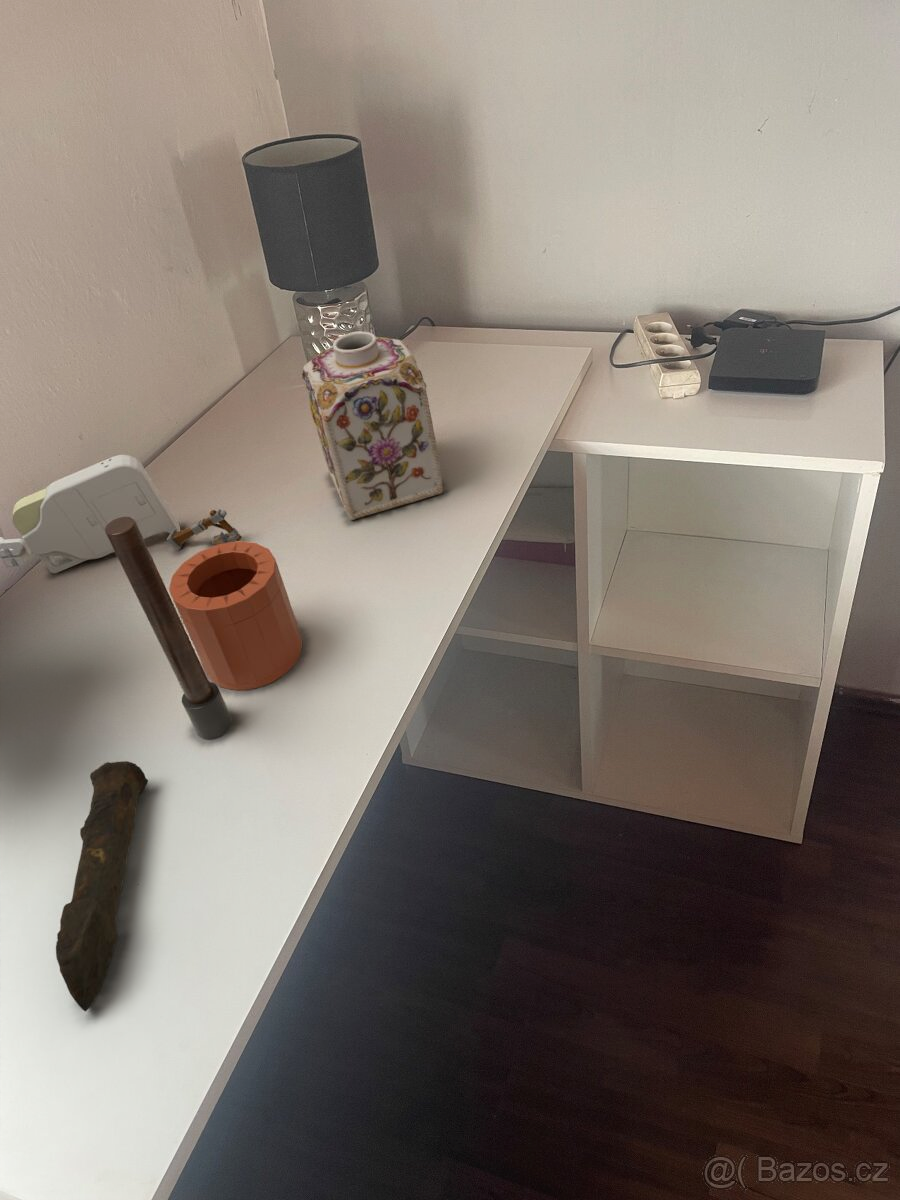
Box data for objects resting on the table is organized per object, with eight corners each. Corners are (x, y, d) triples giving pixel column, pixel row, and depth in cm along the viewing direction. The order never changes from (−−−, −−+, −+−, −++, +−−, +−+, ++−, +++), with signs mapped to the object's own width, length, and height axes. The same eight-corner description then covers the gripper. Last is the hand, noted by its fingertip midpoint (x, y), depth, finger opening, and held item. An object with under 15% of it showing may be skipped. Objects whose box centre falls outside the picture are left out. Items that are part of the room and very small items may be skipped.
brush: (189, 729, 77) (88, 530, 62) (217, 706, 78) (125, 507, 64) (211, 745, 75) (113, 543, 60) (239, 721, 76) (150, 520, 62)
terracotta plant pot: (186, 664, 83) (148, 585, 77) (259, 608, 88) (230, 530, 81) (247, 705, 78) (213, 624, 71) (322, 643, 83) (296, 562, 76)
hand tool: (106, 792, 72) (83, 757, 69) (153, 784, 72) (132, 749, 69) (49, 1021, 58) (17, 990, 55) (108, 1011, 58) (79, 980, 55)
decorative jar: (418, 447, 108) (392, 307, 96) (447, 494, 99) (422, 346, 87) (326, 474, 106) (288, 334, 94) (346, 524, 97) (308, 377, 86)
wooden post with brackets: (244, 541, 96) (217, 511, 93) (192, 566, 99) (165, 537, 97) (249, 531, 97) (223, 501, 95) (198, 556, 100) (171, 528, 98)
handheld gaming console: (59, 576, 101) (179, 524, 102) (59, 590, 99) (182, 537, 100) (1, 501, 93) (131, 447, 94) (-1, 515, 91) (132, 459, 92)
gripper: (-74, 551, 79) (67, 540, 77) (-214, 723, 64) (-42, 714, 62) (-113, 494, 75) (36, 481, 73) (-273, 663, 59) (-89, 651, 58)
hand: (0, 589), depth 67 cm, fingers open, 8 cm apart
